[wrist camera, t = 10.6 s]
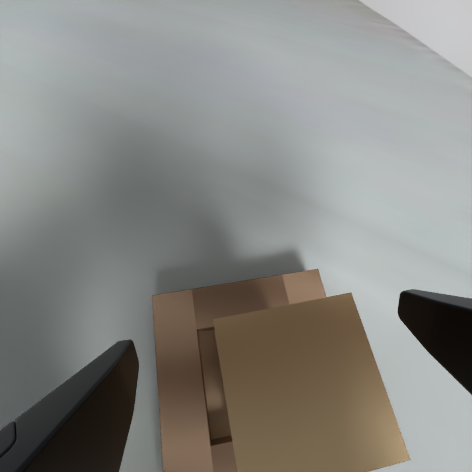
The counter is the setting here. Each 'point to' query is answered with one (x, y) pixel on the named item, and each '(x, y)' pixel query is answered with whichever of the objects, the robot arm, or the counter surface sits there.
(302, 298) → the socket
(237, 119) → the counter surface
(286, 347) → the peg
